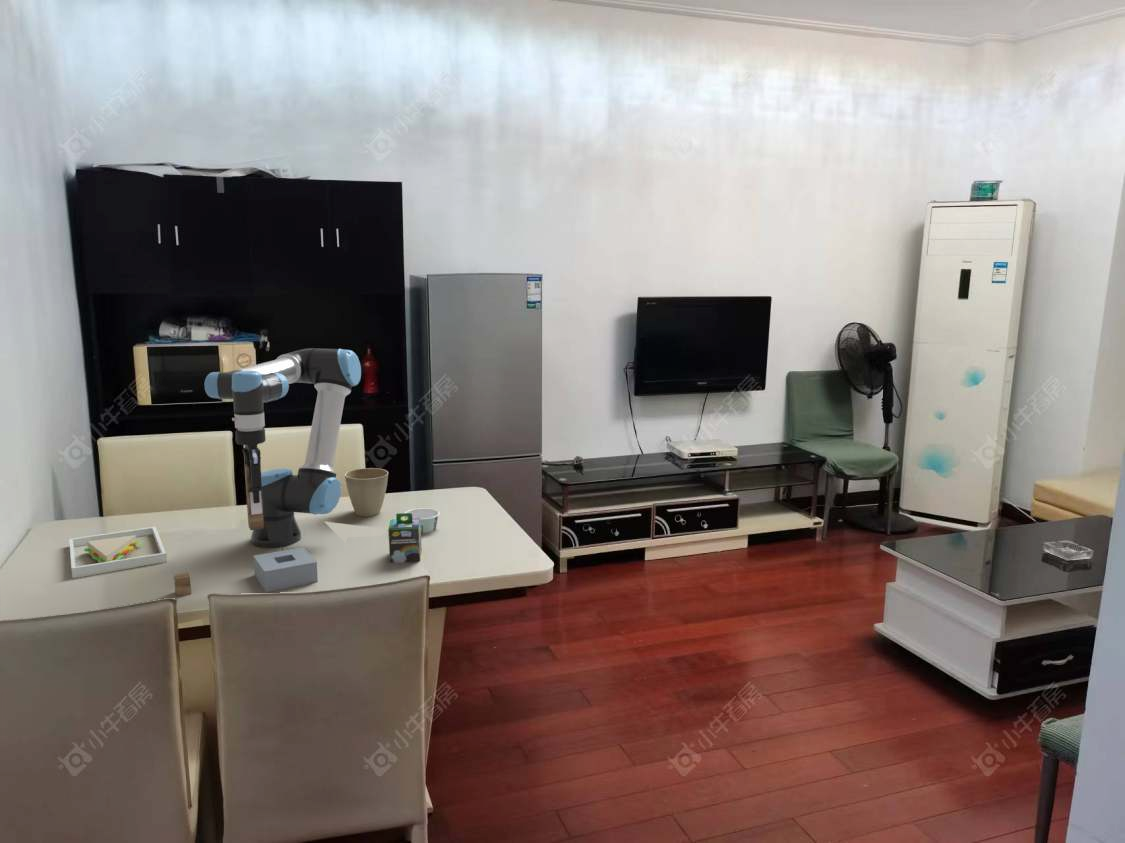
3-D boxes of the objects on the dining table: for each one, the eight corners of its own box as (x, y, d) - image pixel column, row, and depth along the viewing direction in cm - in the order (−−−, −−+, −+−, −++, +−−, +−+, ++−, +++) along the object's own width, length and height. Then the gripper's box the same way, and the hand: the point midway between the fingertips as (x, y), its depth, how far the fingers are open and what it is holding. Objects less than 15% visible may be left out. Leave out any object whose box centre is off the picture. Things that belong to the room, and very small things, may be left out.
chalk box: (421, 553, 246) (420, 507, 244) (420, 563, 237) (419, 516, 235) (391, 554, 245) (390, 508, 242) (389, 564, 236) (387, 517, 233)
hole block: (254, 575, 226) (253, 555, 225) (304, 566, 234) (303, 547, 233) (265, 592, 215) (264, 571, 214) (317, 582, 222) (316, 561, 221)
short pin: (175, 592, 214) (173, 574, 214) (189, 589, 216) (188, 572, 215) (177, 596, 212) (175, 579, 211) (191, 593, 213) (189, 576, 212)
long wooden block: (248, 526, 220) (244, 463, 217) (261, 524, 222) (257, 462, 218) (250, 530, 217) (246, 466, 214) (264, 528, 219) (259, 465, 215)
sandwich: (66, 576, 226) (64, 559, 225) (90, 552, 245) (88, 537, 244) (125, 572, 229) (123, 555, 228) (144, 548, 248) (143, 533, 247)
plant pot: (338, 520, 277) (336, 476, 274) (360, 508, 291) (359, 466, 288) (376, 525, 272) (374, 480, 269) (397, 512, 286) (396, 470, 283)
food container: (443, 527, 271) (443, 508, 270) (434, 538, 260) (434, 519, 258) (409, 525, 273) (409, 507, 271) (399, 537, 261) (398, 518, 260)
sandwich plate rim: (70, 548, 247) (69, 538, 246) (156, 535, 259) (155, 526, 259) (72, 578, 223) (71, 568, 222) (167, 562, 235) (166, 553, 235)
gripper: (230, 424, 219) (236, 505, 224) (239, 435, 205) (245, 522, 210) (259, 421, 223) (264, 502, 227) (270, 432, 209) (275, 517, 213)
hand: (255, 511), depth 219 cm, fingers closed on long wooden block, 3 cm apart
